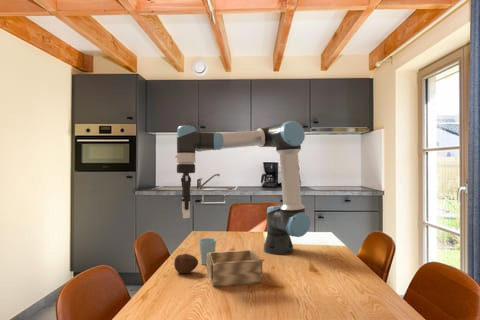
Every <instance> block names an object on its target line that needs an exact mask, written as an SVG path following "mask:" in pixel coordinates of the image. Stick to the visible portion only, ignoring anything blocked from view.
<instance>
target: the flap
mask: <svg viewBox="0 0 480 320" xmlns="http://www.w3.org/2000/svg"><path fill="white" fill-rule="evenodd" d="M260 259H261V260H246V261H232V262H217V263H215V265H225V264H239V263H253V262H262V263H263V262H265V259H264V258H263V259H262V258H260Z"/></svg>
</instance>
